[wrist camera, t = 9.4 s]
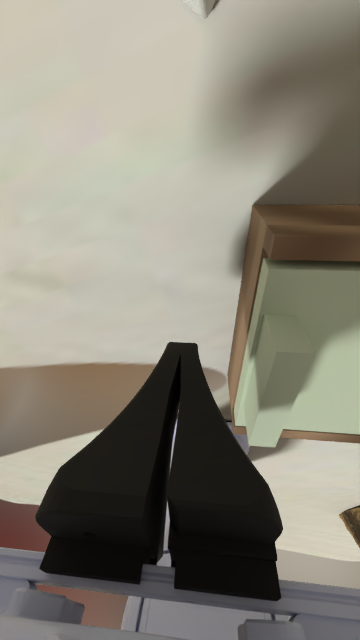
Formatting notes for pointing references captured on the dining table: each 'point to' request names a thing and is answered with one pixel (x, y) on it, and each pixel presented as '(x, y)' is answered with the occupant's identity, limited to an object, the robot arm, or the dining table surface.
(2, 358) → the dining table surface
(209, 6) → the skincare box
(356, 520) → the rock
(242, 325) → the case
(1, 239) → the dining table surface
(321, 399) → the lid
